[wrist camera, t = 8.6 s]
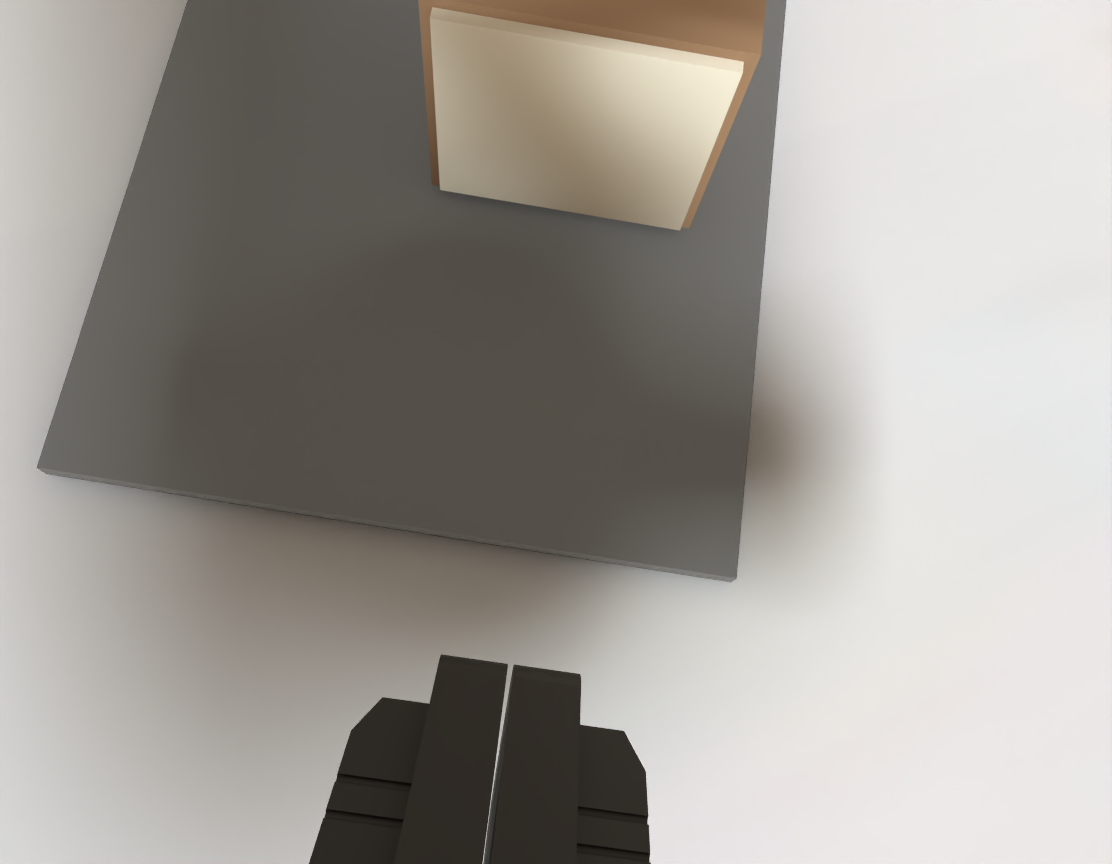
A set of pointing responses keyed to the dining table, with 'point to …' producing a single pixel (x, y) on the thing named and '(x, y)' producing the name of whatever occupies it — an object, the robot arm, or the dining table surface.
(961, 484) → the dining table surface
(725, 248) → the mat
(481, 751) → the robot arm
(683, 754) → the dining table surface
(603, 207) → the walnut block
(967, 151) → the dining table surface
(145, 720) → the dining table surface
